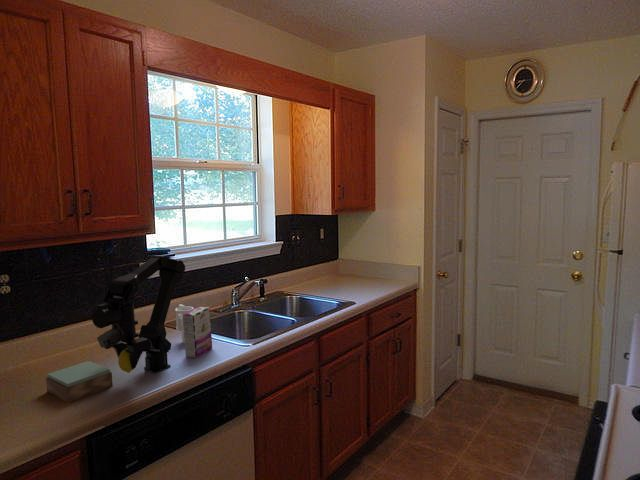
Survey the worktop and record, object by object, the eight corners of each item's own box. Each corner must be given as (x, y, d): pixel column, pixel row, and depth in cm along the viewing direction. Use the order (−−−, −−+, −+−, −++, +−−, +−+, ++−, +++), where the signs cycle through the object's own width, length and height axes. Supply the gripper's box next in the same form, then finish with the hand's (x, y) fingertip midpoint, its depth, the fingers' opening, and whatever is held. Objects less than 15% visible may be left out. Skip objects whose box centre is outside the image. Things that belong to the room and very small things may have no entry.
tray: (91, 376, 157) (90, 363, 156) (112, 386, 149) (111, 372, 149) (47, 391, 146) (45, 378, 145) (67, 402, 138) (66, 388, 137)
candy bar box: (201, 347, 184) (199, 306, 182) (212, 348, 182) (210, 307, 180) (184, 357, 173) (182, 313, 171) (196, 358, 172) (193, 314, 170)
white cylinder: (189, 338, 195) (187, 302, 193) (198, 341, 190) (196, 305, 188) (173, 342, 190) (171, 306, 188) (182, 346, 185) (180, 309, 183)
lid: (89, 363, 156) (88, 360, 156) (110, 372, 148) (109, 369, 148) (47, 377, 145) (47, 374, 145) (68, 387, 138) (67, 383, 138)
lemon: (140, 369, 153) (138, 345, 152) (134, 376, 147) (132, 351, 146) (123, 369, 153) (121, 345, 152) (116, 376, 147) (114, 351, 146)
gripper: (84, 320, 147) (88, 368, 149) (117, 330, 136) (120, 382, 138) (117, 312, 156) (121, 357, 158) (151, 321, 145) (154, 369, 147)
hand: (128, 366), depth 150 cm, fingers closed on lemon, 5 cm apart
